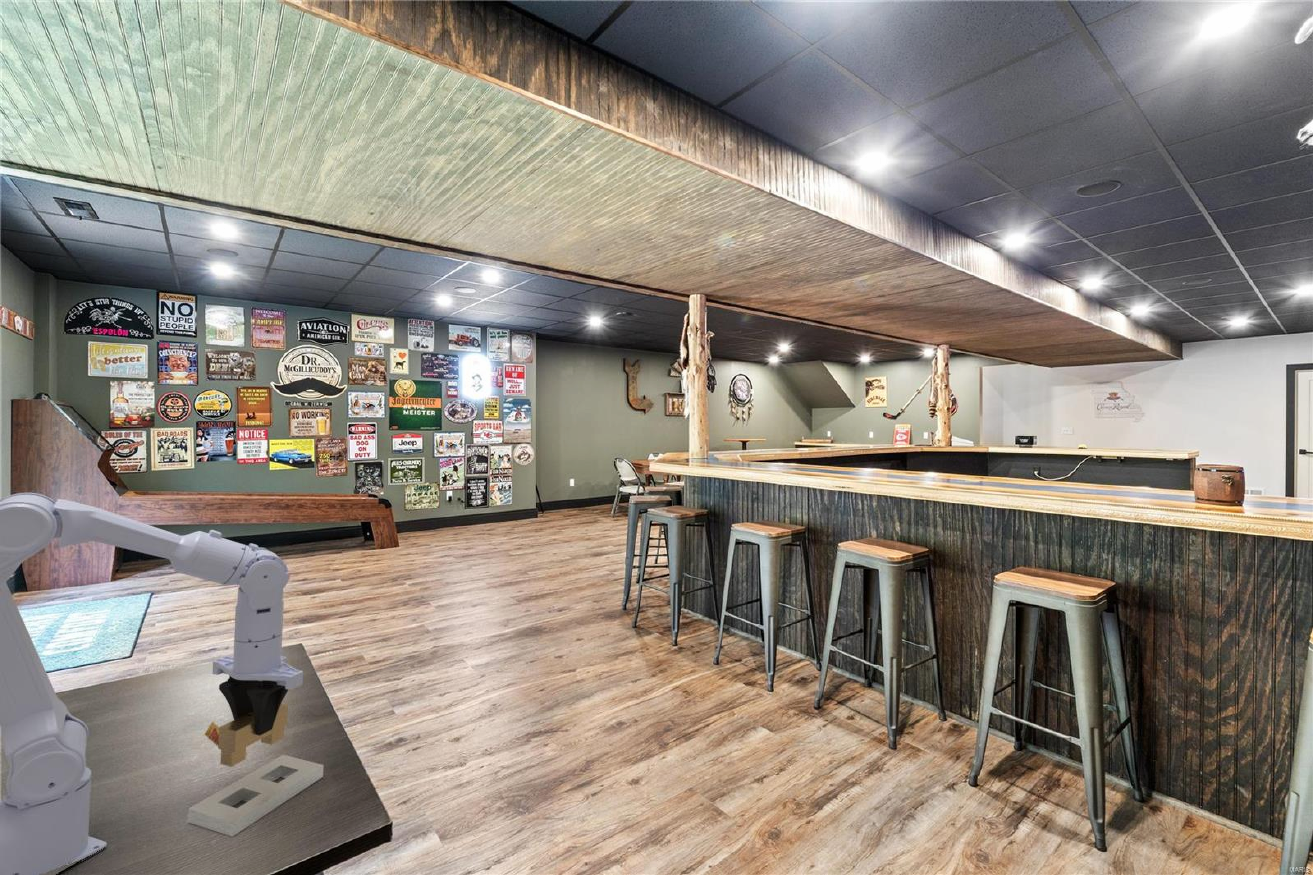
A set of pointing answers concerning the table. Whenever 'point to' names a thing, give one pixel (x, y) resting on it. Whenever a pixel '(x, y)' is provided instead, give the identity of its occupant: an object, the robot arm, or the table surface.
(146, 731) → the table surface
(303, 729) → the table surface
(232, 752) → the stepped wooden block
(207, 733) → the chocolate bar
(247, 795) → the white slotted holder
